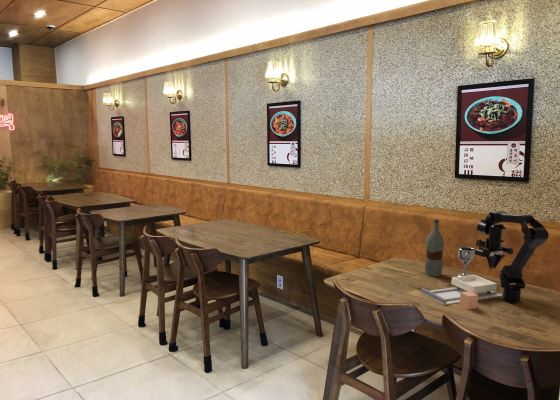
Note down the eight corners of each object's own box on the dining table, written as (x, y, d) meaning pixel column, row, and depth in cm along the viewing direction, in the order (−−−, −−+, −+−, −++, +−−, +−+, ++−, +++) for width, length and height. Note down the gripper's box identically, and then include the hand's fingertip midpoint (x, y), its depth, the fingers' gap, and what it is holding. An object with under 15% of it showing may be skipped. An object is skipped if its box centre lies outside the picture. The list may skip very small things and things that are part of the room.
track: (502, 296, 207) (502, 291, 207) (443, 304, 196) (444, 300, 195) (476, 285, 222) (477, 280, 222) (420, 292, 210) (421, 288, 210)
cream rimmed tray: (496, 293, 207) (496, 283, 206) (472, 297, 202) (473, 286, 201) (473, 284, 220) (474, 274, 219) (451, 287, 215) (451, 277, 214)
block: (476, 308, 193) (478, 295, 192) (467, 309, 191) (468, 296, 190) (468, 304, 197) (469, 291, 196) (459, 305, 195) (460, 292, 195)
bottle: (421, 271, 243) (424, 218, 239) (436, 270, 245) (439, 218, 240) (429, 277, 234) (433, 221, 230) (445, 276, 236) (449, 221, 231)
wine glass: (474, 278, 233) (477, 250, 230) (459, 278, 233) (461, 250, 231) (468, 273, 241) (470, 246, 238) (454, 273, 241) (456, 246, 238)
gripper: (496, 232, 222) (494, 262, 224) (467, 234, 215) (465, 265, 218) (515, 237, 211) (512, 268, 214) (484, 239, 205) (482, 272, 207)
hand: (492, 268), depth 213 cm, fingers closed
